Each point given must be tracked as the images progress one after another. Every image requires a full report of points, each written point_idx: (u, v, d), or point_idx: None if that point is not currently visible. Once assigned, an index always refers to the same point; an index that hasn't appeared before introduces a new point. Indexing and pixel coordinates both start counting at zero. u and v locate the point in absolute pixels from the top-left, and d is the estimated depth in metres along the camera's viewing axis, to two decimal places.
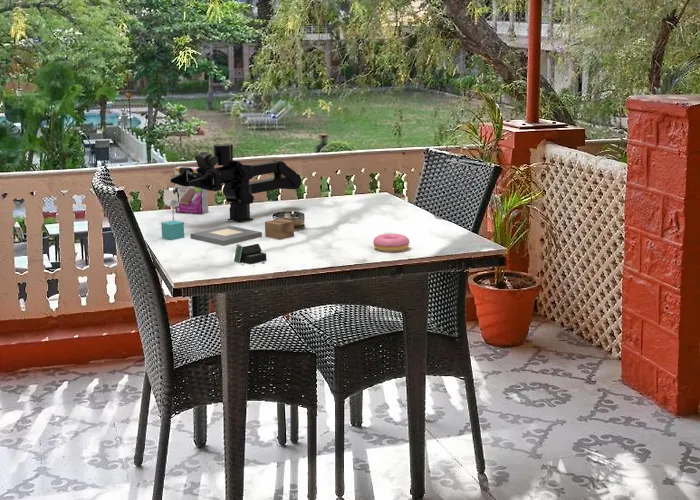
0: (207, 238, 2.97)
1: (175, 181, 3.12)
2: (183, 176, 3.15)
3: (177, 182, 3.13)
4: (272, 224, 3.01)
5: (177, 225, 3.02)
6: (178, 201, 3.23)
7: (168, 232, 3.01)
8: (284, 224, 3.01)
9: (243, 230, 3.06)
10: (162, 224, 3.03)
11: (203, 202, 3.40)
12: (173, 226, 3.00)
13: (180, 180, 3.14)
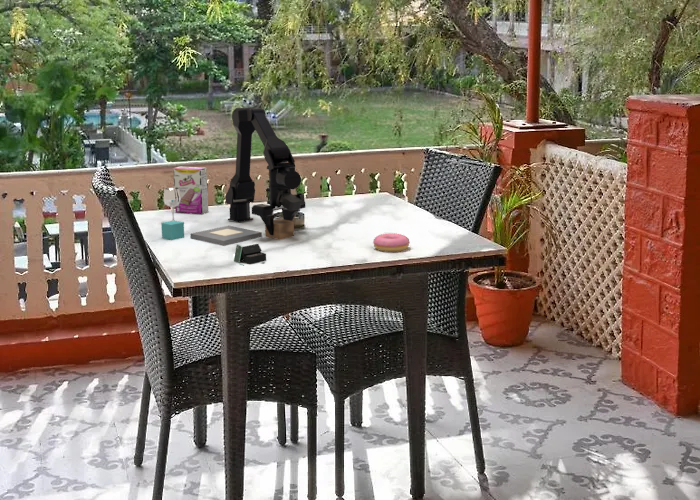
0: (207, 238, 2.97)
1: None
2: None
3: None
4: None
5: (177, 225, 3.02)
6: (178, 201, 3.23)
7: (168, 232, 3.01)
8: (284, 224, 3.01)
9: (243, 230, 3.06)
10: (162, 224, 3.03)
11: (203, 202, 3.40)
12: (173, 226, 3.00)
13: None
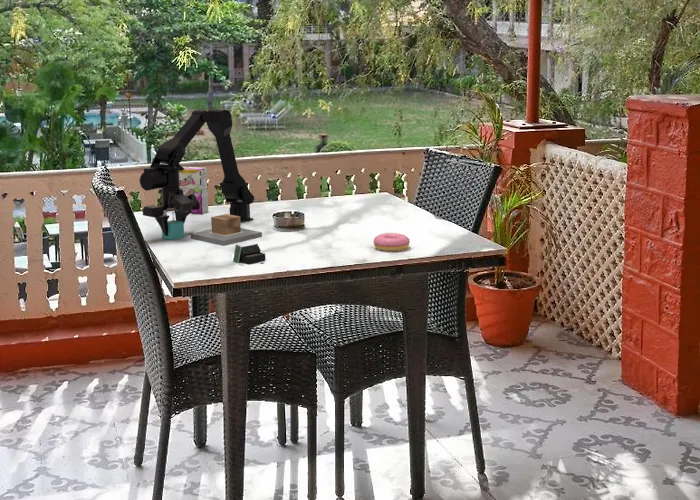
0: (207, 238, 2.97)
1: None
2: None
3: None
4: (218, 219, 3.00)
5: (177, 225, 3.02)
6: None
7: (168, 232, 3.01)
8: (230, 219, 2.99)
9: (243, 230, 3.06)
10: None
11: (203, 202, 3.40)
12: (173, 226, 3.00)
13: None
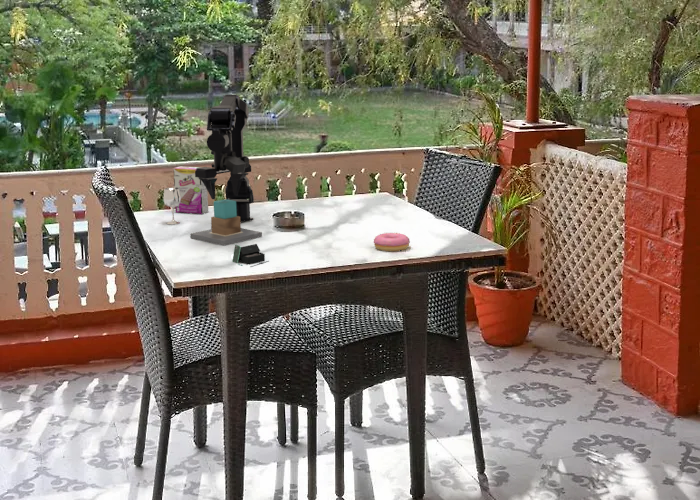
0: (207, 238, 2.97)
1: None
2: None
3: None
4: (218, 219, 3.00)
5: (230, 204, 2.99)
6: (178, 201, 3.23)
7: (220, 211, 2.99)
8: (230, 219, 2.99)
9: (243, 230, 3.06)
10: (214, 203, 3.00)
11: (203, 202, 3.40)
12: (226, 205, 2.98)
13: None
